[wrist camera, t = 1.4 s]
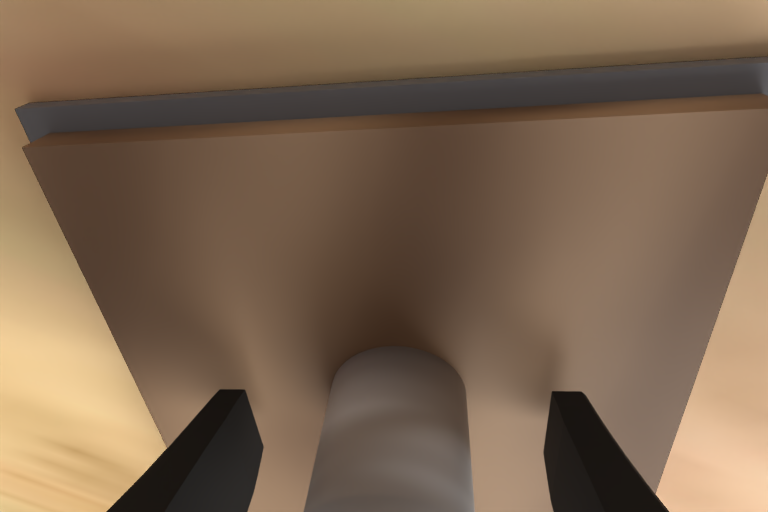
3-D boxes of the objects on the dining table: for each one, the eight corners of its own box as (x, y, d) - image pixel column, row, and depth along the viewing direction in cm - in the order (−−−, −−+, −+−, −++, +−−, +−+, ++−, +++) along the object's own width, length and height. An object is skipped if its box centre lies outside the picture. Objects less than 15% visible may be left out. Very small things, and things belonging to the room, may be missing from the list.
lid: (762, 93, 8) (1007, 213, 5) (625, 525, 15) (684, 706, 12) (49, 132, 10) (-171, 247, 6) (218, 511, 17) (160, 669, 13)
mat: (790, 55, 8) (806, 60, 8) (635, 522, 16) (640, 535, 16) (28, 103, 10) (14, 108, 10) (212, 508, 17) (207, 519, 17)
